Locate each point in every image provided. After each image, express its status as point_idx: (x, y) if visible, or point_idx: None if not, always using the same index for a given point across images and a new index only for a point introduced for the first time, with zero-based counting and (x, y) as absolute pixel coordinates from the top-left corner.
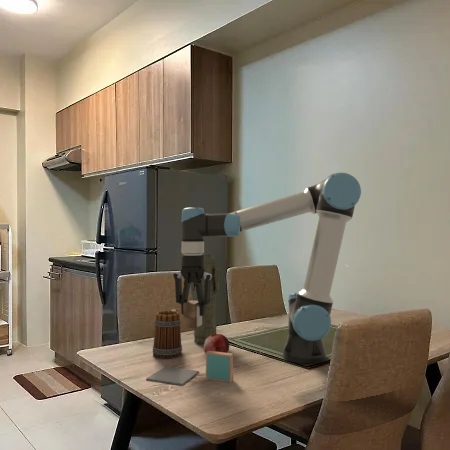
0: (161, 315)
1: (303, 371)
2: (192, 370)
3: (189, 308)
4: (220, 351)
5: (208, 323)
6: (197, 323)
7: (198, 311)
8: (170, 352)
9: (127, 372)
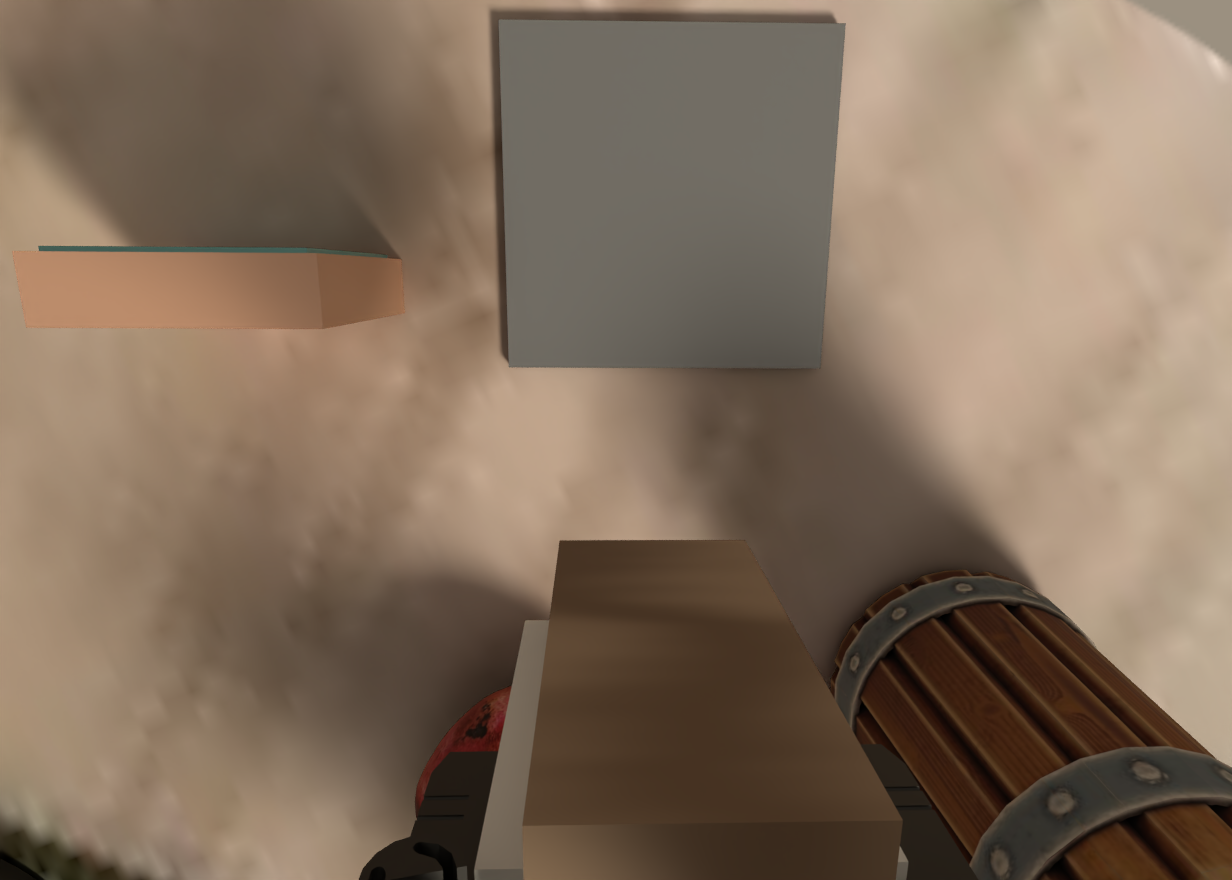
0: None
1: None
2: (566, 360)
3: (676, 725)
4: (460, 724)
5: None
6: (543, 643)
7: (499, 780)
8: (896, 613)
9: (1074, 139)
